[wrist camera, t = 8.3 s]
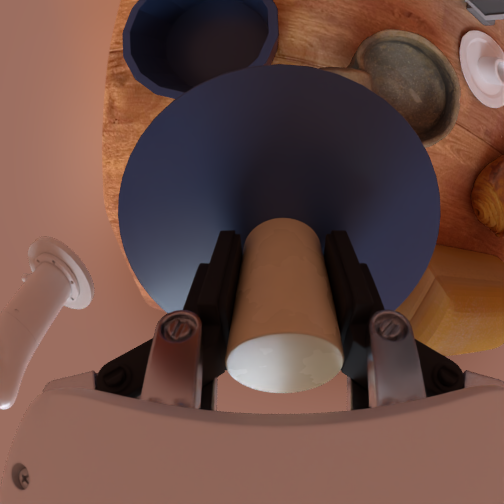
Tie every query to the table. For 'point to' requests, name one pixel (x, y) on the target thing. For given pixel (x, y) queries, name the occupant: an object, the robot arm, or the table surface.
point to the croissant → (490, 196)
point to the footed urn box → (486, 10)
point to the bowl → (409, 80)
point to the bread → (458, 302)
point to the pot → (197, 41)
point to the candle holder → (483, 67)
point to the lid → (279, 209)
